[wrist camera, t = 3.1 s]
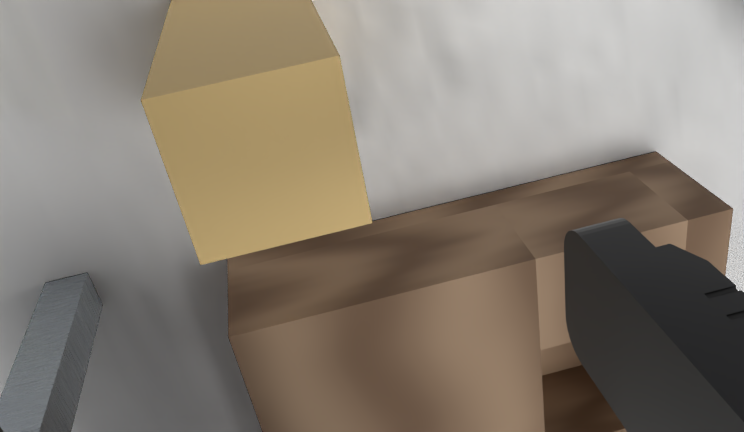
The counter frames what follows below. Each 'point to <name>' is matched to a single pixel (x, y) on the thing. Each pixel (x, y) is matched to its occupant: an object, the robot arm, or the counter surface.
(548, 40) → the counter surface
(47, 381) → the panel
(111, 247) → the counter surface
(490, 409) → the socket block
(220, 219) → the peg
